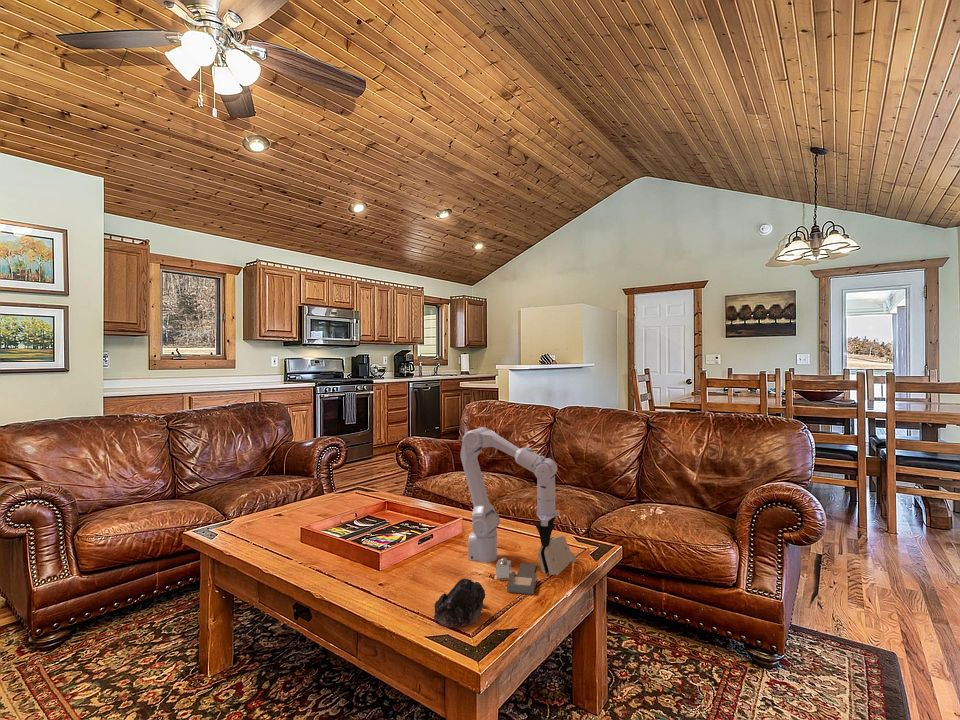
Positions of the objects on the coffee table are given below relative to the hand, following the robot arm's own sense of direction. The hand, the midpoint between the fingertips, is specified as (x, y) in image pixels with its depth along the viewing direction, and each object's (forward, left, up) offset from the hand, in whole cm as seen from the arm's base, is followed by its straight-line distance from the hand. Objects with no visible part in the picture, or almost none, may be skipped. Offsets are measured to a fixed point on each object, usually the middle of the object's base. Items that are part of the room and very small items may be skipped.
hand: (546, 541), depth 155 cm
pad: (-12, -8, -10) cm, 17 cm away
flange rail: (-6, -8, -10) cm, 14 cm away
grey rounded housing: (+3, +4, -10) cm, 11 cm away
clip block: (-12, -8, -9) cm, 17 cm away
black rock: (-20, -31, -10) cm, 38 cm away
